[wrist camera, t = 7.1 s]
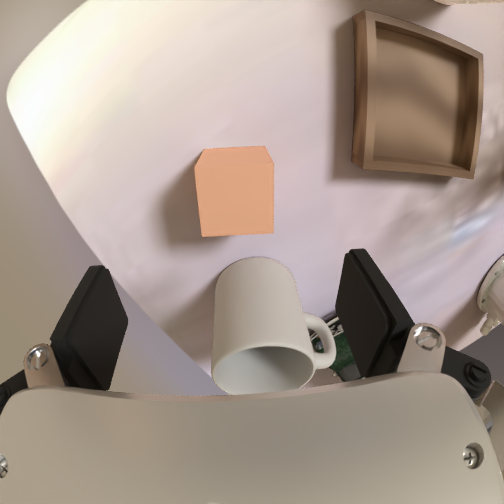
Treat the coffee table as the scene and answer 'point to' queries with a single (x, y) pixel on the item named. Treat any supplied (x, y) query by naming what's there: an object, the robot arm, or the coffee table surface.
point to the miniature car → (339, 353)
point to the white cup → (468, 1)
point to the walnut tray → (415, 99)
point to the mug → (264, 331)
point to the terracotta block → (235, 191)
